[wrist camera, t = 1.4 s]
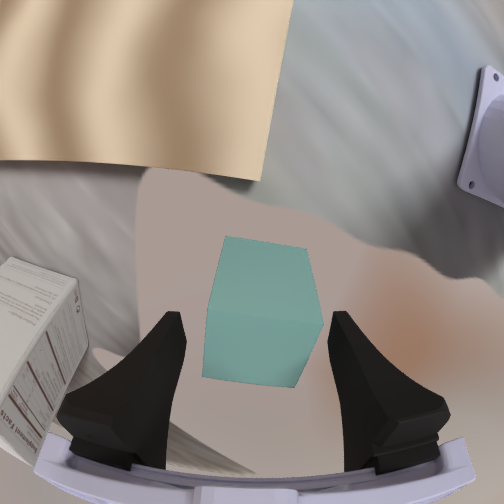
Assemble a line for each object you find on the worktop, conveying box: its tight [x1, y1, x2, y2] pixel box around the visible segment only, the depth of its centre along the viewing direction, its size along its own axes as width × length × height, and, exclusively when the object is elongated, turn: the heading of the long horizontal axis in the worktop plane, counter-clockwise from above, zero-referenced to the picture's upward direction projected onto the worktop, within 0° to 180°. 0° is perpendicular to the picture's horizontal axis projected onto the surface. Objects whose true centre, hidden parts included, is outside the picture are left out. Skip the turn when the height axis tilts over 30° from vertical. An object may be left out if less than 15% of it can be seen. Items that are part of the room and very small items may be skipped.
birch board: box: [0, 0, 293, 181], centre depth 9 cm, size 20×16×2 cm
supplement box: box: [0, 257, 88, 467], centre depth 14 cm, size 7×7×13 cm
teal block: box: [202, 236, 324, 388], centre depth 15 cm, size 4×4×6 cm
